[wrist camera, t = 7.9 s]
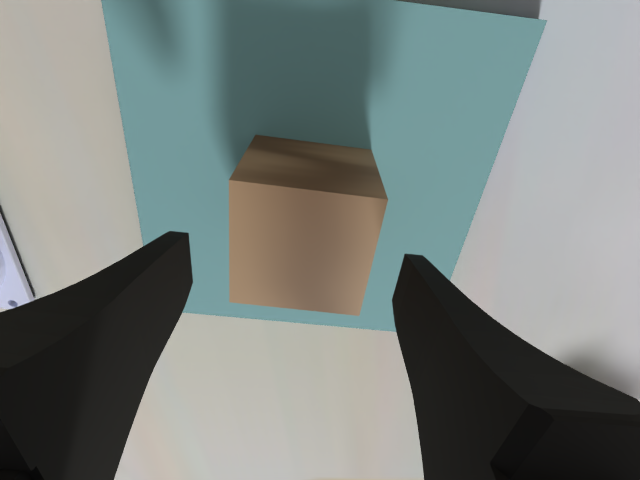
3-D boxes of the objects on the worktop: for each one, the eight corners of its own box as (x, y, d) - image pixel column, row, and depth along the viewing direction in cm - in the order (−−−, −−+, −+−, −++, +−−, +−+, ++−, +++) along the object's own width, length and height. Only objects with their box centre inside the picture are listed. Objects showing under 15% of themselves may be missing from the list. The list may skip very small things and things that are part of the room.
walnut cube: (252, 234, 18) (229, 302, 14) (255, 134, 16) (228, 179, 11) (351, 246, 18) (359, 315, 14) (371, 149, 16) (388, 199, 12)
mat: (158, 302, 21) (154, 309, 21) (103, -38, 13) (94, -40, 12) (427, 327, 22) (429, 334, 22) (538, 20, 14) (547, 20, 13)
